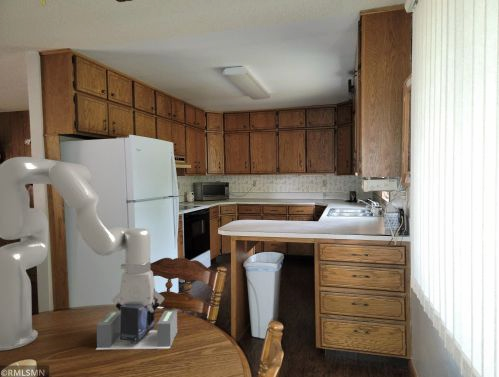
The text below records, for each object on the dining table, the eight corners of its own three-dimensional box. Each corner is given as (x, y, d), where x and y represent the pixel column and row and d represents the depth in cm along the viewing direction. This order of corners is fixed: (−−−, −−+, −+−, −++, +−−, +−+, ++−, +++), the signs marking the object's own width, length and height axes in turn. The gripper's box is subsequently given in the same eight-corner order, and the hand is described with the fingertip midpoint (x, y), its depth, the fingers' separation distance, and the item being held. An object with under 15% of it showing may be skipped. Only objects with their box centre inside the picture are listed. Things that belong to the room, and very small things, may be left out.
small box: (138, 342, 97) (138, 307, 97) (119, 340, 98) (118, 306, 98) (155, 327, 107) (155, 295, 107) (137, 325, 108) (137, 294, 108)
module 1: (97, 347, 97) (96, 324, 97) (110, 332, 107) (110, 311, 107) (110, 347, 97) (110, 324, 97) (122, 332, 107) (122, 310, 107)
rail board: (95, 354, 96) (95, 349, 96) (111, 335, 108) (111, 331, 108) (169, 353, 97) (169, 348, 97) (177, 334, 109) (177, 329, 109)
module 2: (157, 346, 98) (156, 323, 98) (165, 331, 108) (164, 310, 108) (170, 346, 98) (170, 323, 98) (177, 331, 108) (176, 310, 108)
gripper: (105, 271, 98) (105, 329, 99) (162, 270, 99) (163, 328, 99) (114, 265, 106) (115, 318, 106) (168, 264, 106) (168, 318, 106)
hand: (138, 323), depth 102 cm, fingers closed on small box, 7 cm apart
